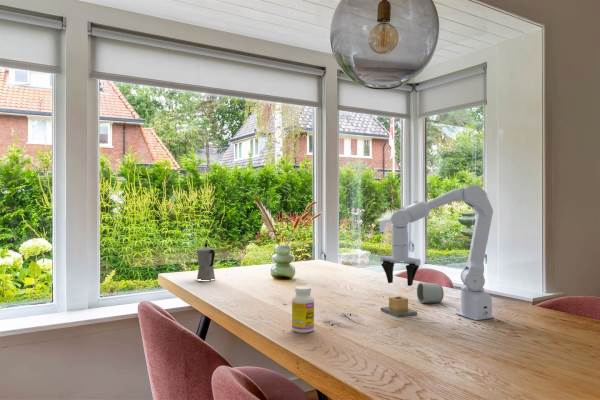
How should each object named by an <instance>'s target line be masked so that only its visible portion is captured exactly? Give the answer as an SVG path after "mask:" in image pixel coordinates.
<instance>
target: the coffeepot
mask: <svg viewBox="0 0 600 400" xmlns="http://www.w3.org/2000/svg"><path fill="white" fill-rule="evenodd" d="M196 253H197V260H198V270H197V271H198V272H197V276H196V280H197V279H201V280H211V279H215V280H216V277H215V270H214V262H215V255H216V249H215V248H213V247H209V246H208V243H204V247H201V248H198V249H197V248H196Z"/></svg>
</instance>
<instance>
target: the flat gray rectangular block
mask: <svg viewBox="0 0 600 400" xmlns="http://www.w3.org/2000/svg"><path fill="white" fill-rule="evenodd" d="M380 312H383V313H385V314H386V313H387V314H389V315H390V316H393V317H396V318H402V317H408V316H417V315H418V311H416V310H413V309H410V308H408V310H407V311H400V312H396V311H394V310H391V309H389V306H384V307H383V306H382V307H380Z"/></svg>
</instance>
